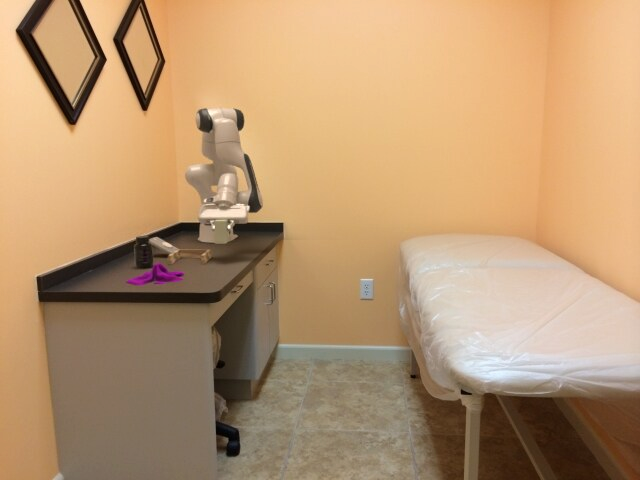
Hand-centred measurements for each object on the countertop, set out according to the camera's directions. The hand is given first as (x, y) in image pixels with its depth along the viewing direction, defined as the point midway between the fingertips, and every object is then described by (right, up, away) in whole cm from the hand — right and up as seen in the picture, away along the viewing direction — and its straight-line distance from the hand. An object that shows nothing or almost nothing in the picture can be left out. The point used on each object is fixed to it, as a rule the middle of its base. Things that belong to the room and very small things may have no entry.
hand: (221, 230), depth 201 cm
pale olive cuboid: (0, -5, +1) cm, 5 cm away
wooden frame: (-14, -12, +5) cm, 19 cm away
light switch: (-27, -11, +17) cm, 34 cm away
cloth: (-16, -18, -25) cm, 35 cm away
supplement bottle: (-29, -15, -5) cm, 33 cm away
